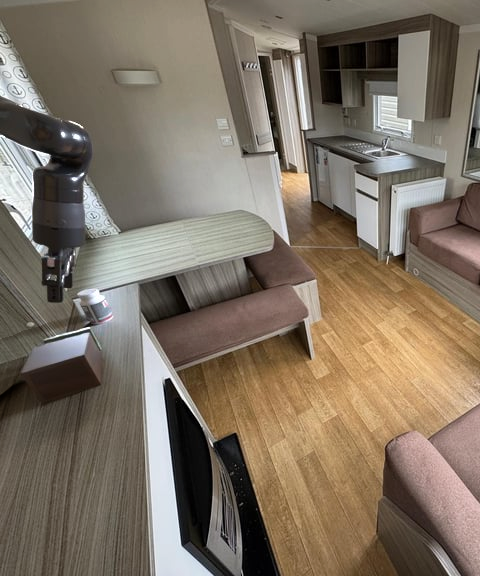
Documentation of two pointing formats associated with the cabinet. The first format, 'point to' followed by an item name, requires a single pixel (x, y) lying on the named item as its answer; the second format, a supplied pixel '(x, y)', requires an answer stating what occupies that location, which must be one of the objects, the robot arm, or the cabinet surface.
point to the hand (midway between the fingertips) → (60, 294)
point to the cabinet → (63, 368)
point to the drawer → (72, 334)
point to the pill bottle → (95, 306)
